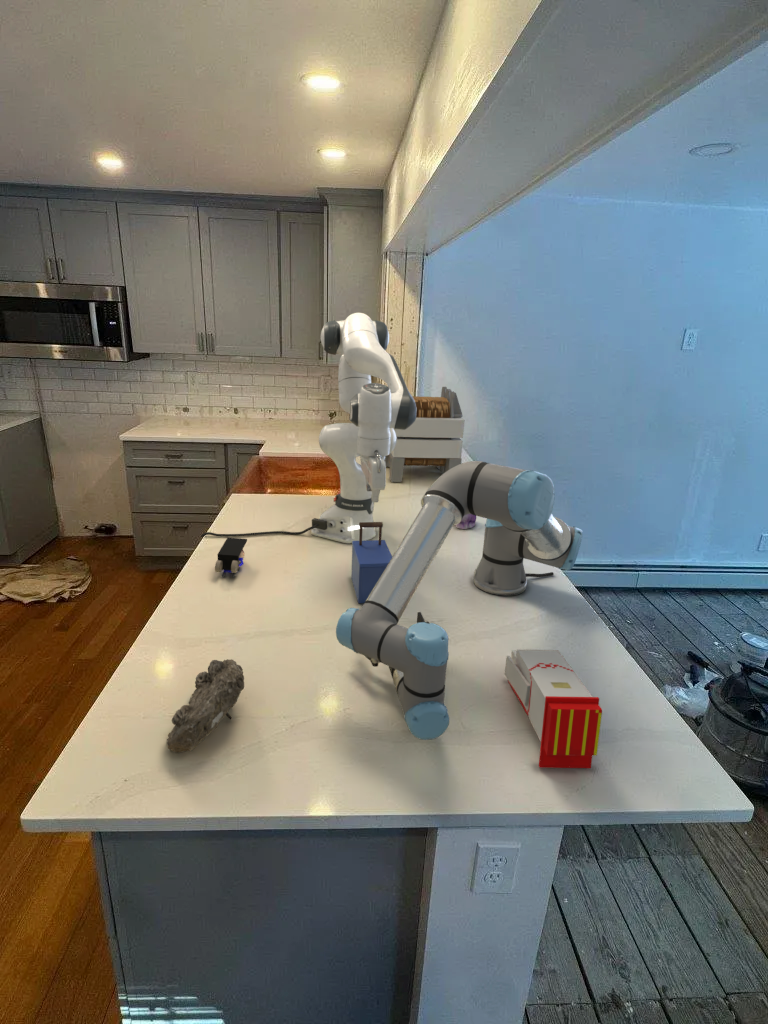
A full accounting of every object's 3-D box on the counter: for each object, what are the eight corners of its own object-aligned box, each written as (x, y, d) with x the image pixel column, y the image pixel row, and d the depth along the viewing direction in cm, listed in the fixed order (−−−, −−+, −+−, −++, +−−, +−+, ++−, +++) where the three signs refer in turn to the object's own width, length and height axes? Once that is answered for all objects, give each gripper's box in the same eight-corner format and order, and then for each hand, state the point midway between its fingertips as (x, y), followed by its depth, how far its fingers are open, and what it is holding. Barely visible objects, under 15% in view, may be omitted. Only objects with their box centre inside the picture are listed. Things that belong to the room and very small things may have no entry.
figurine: (462, 531, 204) (465, 492, 199) (446, 522, 213) (449, 483, 207) (483, 528, 208) (487, 489, 203) (467, 518, 217) (470, 481, 212)
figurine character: (238, 584, 162) (249, 557, 175) (236, 562, 158) (247, 536, 172) (215, 584, 161) (227, 556, 175) (212, 561, 158) (225, 535, 171)
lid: (351, 543, 163) (352, 518, 160) (384, 542, 165) (385, 517, 162) (359, 567, 148) (360, 540, 146) (395, 566, 150) (396, 539, 147)
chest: (351, 578, 166) (352, 545, 162) (383, 577, 167) (385, 544, 164) (358, 603, 152) (359, 567, 148) (393, 601, 154) (395, 566, 150)
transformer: (382, 463, 289) (386, 382, 275) (445, 464, 293) (451, 384, 279) (390, 482, 257) (394, 392, 243) (460, 483, 261) (468, 394, 247)
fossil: (192, 660, 117) (244, 628, 112) (224, 691, 120) (276, 661, 115) (142, 746, 98) (202, 712, 93) (182, 779, 101) (242, 748, 96)
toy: (554, 631, 124) (612, 705, 95) (548, 687, 127) (603, 776, 98) (499, 630, 124) (540, 704, 94) (495, 686, 126) (533, 775, 97)
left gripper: (392, 456, 142) (390, 508, 146) (379, 438, 161) (377, 484, 165) (367, 456, 141) (366, 509, 145) (357, 438, 159) (355, 485, 164)
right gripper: (347, 694, 112) (336, 635, 131) (468, 684, 116) (440, 629, 136) (348, 661, 109) (337, 607, 129) (472, 653, 114) (443, 601, 133)
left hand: (372, 496), depth 155 cm, fingers open, 8 cm apart
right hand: (390, 618), depth 132 cm, fingers open, 13 cm apart
